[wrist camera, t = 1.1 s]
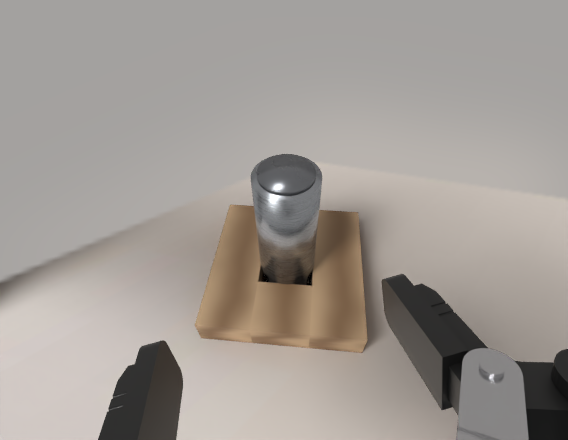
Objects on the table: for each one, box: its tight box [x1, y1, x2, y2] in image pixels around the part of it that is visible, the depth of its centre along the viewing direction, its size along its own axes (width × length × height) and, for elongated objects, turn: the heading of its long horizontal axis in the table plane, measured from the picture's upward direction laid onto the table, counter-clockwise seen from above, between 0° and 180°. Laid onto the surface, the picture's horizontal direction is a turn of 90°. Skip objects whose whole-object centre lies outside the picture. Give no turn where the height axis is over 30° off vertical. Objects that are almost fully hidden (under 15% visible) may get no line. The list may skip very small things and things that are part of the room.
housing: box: [195, 205, 367, 353], centre depth 37 cm, size 16×16×3 cm
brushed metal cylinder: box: [251, 154, 322, 285], centre depth 32 cm, size 6×6×15 cm
